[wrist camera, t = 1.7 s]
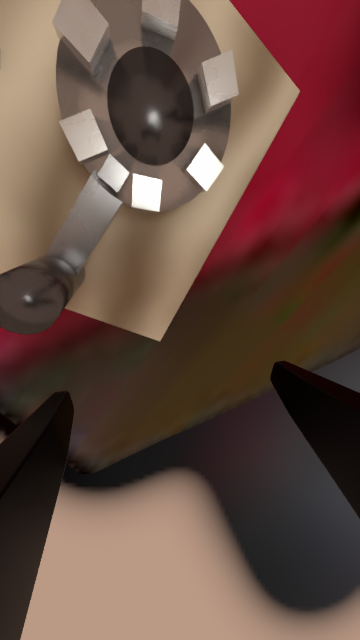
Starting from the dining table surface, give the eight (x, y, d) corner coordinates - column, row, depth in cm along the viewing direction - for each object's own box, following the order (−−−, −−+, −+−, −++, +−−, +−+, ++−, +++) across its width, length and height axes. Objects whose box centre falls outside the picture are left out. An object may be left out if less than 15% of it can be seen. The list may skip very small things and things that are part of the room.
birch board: (285, 102, 16) (302, 89, 14) (158, 334, 22) (160, 342, 20) (-131, -394, 7) (-202, -562, 5) (-140, 226, 13) (-173, 227, 12)
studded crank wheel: (125, -32, 10) (121, -434, 4) (238, 129, 14) (325, 57, 8) (-12, 249, 14) (-127, 274, 8) (107, 314, 18) (95, 366, 12)
